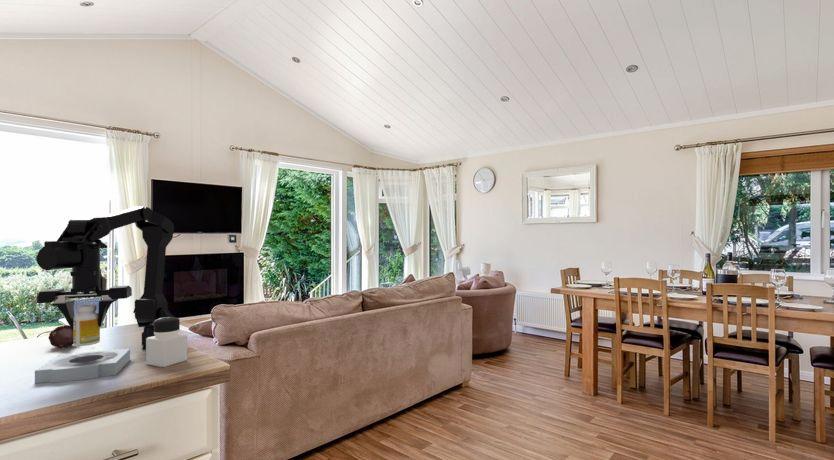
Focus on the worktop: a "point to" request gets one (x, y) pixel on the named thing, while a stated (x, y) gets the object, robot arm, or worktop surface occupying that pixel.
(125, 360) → the socket block
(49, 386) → the worktop surface
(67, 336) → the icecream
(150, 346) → the medicine bottle
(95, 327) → the supplement bottle
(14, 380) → the worktop surface
